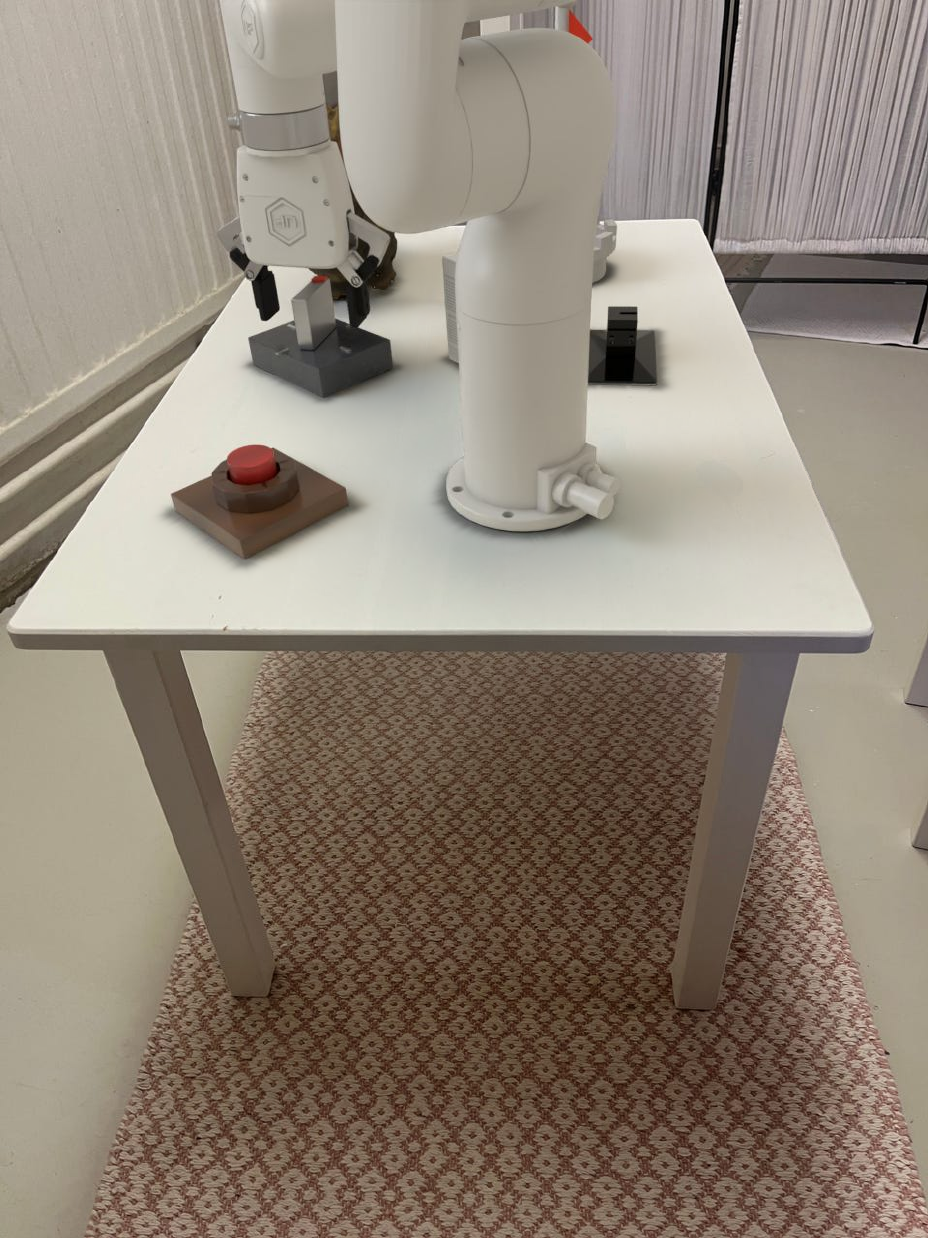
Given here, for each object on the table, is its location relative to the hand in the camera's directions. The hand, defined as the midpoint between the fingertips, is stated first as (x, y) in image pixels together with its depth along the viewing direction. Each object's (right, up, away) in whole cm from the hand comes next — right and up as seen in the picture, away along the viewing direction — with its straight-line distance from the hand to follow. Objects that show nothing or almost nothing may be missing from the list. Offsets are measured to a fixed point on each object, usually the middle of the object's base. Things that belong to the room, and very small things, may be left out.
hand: (314, 318), depth 92 cm
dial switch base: (0, -4, +3) cm, 5 cm away
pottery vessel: (+2, +11, +22) cm, 25 cm away
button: (-2, -19, -20) cm, 27 cm away
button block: (-1, -21, -18) cm, 28 cm away
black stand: (+31, -4, +1) cm, 31 cm away
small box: (+18, -3, +3) cm, 19 cm away
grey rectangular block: (0, -2, +1) cm, 2 cm away
